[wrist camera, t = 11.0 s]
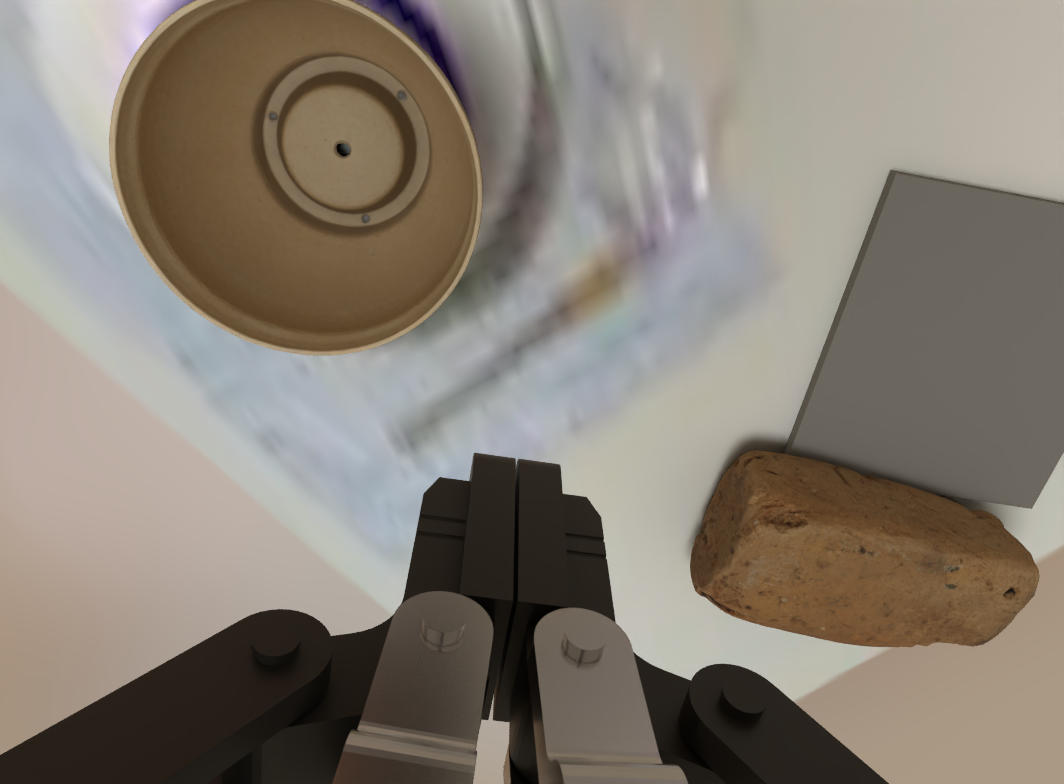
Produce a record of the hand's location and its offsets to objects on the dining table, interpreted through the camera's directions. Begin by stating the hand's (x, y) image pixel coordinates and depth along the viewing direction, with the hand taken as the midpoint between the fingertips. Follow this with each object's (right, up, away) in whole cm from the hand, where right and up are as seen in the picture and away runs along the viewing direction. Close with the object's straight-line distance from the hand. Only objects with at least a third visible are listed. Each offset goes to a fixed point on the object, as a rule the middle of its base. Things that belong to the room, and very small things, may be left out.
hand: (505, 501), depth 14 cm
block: (+12, -7, +38) cm, 41 cm away
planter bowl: (-10, +16, +31) cm, 36 cm away
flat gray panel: (+28, +4, +37) cm, 47 cm away
